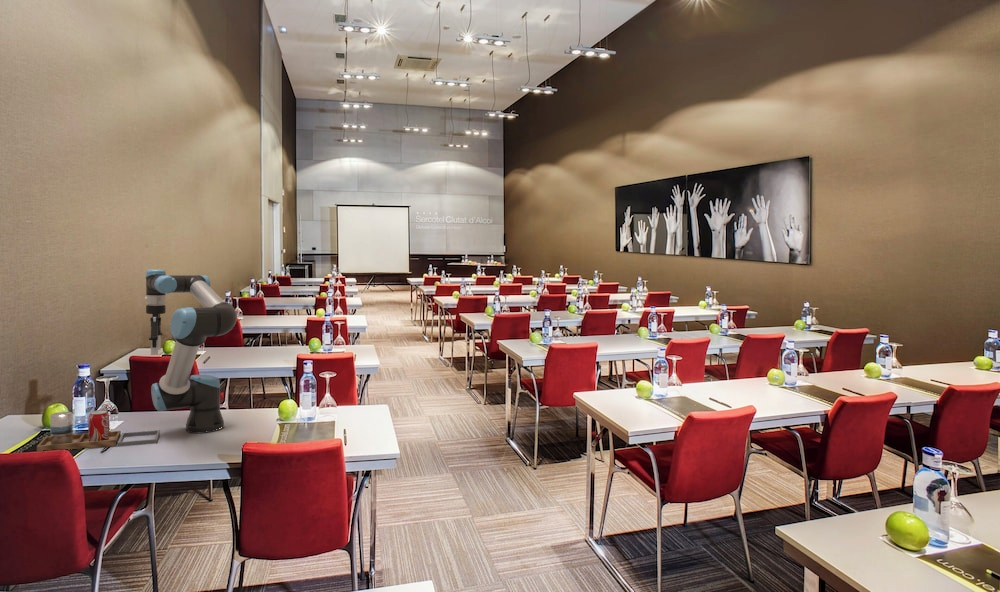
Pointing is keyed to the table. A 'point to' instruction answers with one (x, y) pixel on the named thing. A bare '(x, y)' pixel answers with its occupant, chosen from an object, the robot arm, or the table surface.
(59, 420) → the translucent grey rounded cylinder
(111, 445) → the caddy
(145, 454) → the table surface
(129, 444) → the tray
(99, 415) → the soda can
